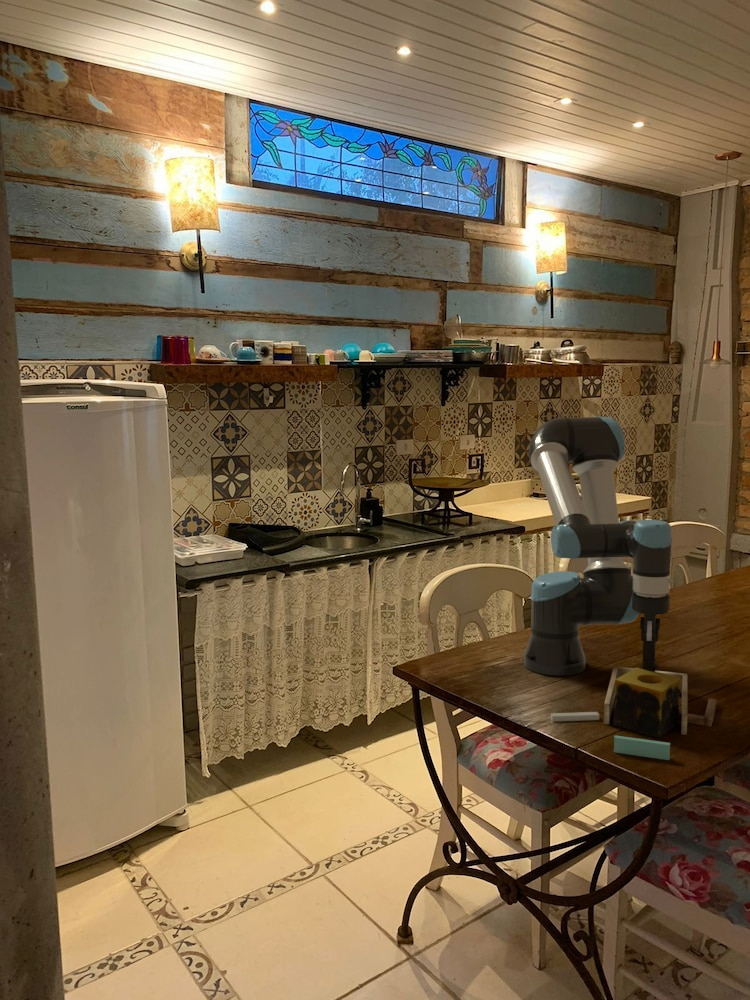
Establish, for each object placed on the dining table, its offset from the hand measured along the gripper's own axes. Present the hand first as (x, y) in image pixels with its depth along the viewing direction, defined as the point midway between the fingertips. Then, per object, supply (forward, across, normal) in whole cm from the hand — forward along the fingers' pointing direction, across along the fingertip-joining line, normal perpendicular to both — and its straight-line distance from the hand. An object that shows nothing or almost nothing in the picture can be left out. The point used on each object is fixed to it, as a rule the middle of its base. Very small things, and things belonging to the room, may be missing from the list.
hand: (648, 698), depth 170 cm
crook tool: (+2, 0, -11) cm, 11 cm away
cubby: (+2, 0, 0) cm, 2 cm away
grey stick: (+2, -11, +14) cm, 18 cm away
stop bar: (+2, -24, 0) cm, 24 cm away
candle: (+2, -9, 0) cm, 10 cm away
